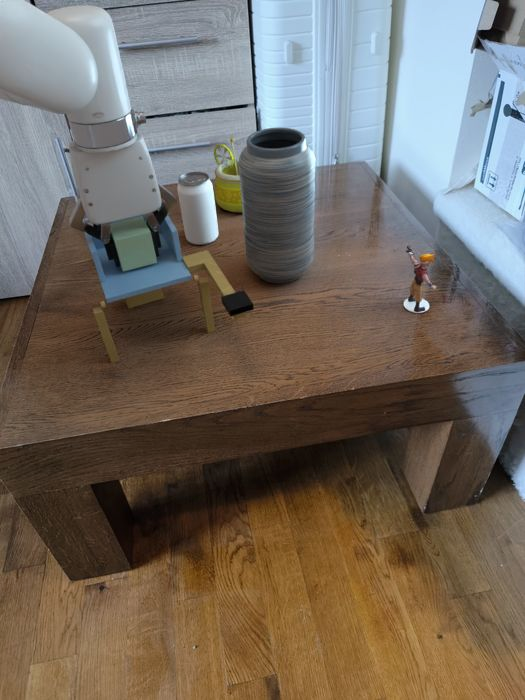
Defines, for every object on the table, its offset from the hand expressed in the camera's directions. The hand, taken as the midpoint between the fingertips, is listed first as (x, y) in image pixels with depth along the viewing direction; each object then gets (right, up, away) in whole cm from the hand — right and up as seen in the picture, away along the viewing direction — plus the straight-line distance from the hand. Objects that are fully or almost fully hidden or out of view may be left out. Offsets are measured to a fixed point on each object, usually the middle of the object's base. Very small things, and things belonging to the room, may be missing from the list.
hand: (135, 256), depth 74 cm
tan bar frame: (+1, -9, +8) cm, 12 cm away
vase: (+22, 0, +16) cm, 27 cm away
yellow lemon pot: (+14, +18, +36) cm, 42 cm away
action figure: (+42, -6, +8) cm, 44 cm away
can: (+7, +8, +26) cm, 28 cm away
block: (0, 0, 0) cm, 0 cm away
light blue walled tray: (+5, -4, -2) cm, 7 cm away
